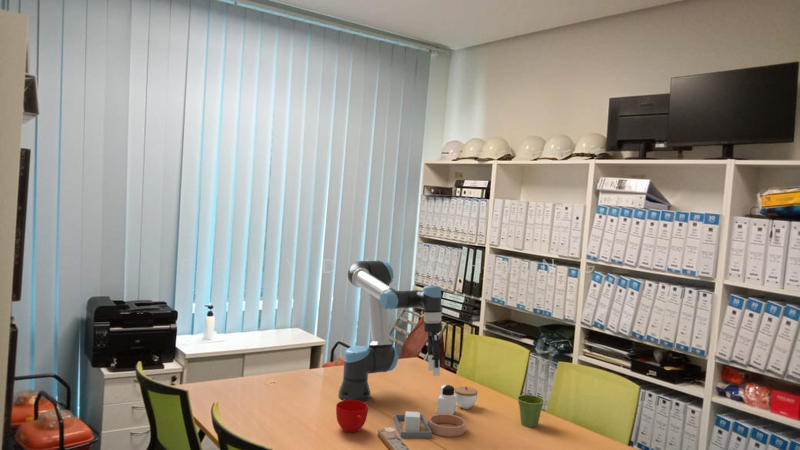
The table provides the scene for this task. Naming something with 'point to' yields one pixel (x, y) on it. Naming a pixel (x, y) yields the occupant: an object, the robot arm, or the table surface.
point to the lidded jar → (465, 396)
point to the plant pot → (530, 409)
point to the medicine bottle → (446, 400)
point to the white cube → (412, 421)
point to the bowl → (447, 425)
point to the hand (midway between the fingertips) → (434, 373)
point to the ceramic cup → (351, 415)
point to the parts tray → (412, 434)
